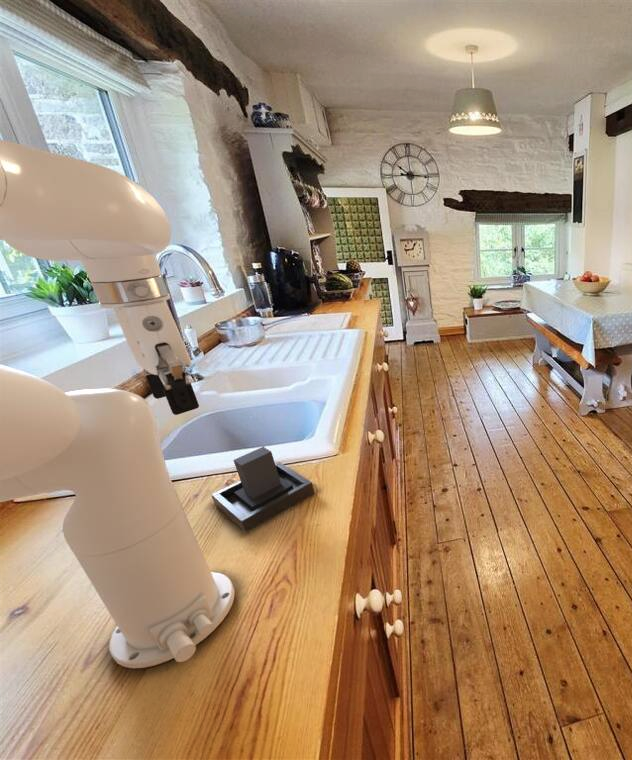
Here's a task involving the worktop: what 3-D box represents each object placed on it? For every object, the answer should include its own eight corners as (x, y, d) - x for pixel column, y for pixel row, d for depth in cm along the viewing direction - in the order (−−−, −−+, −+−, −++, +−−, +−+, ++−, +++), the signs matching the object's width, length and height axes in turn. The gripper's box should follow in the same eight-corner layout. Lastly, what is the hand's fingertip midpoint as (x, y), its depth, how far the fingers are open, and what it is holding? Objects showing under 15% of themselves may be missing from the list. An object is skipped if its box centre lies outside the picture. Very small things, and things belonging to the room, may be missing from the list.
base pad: (314, 492, 75) (311, 482, 74) (245, 532, 66) (241, 521, 65) (281, 471, 82) (278, 461, 81) (214, 504, 73) (210, 494, 72)
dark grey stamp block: (294, 490, 74) (282, 452, 71) (254, 512, 69) (239, 472, 66) (275, 477, 78) (263, 440, 75) (235, 497, 73) (221, 459, 70)
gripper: (185, 292, 54) (224, 408, 61) (150, 283, 64) (187, 383, 71) (110, 303, 49) (162, 428, 55) (85, 291, 59) (131, 398, 66)
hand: (176, 402), depth 63 cm, fingers open, 9 cm apart
